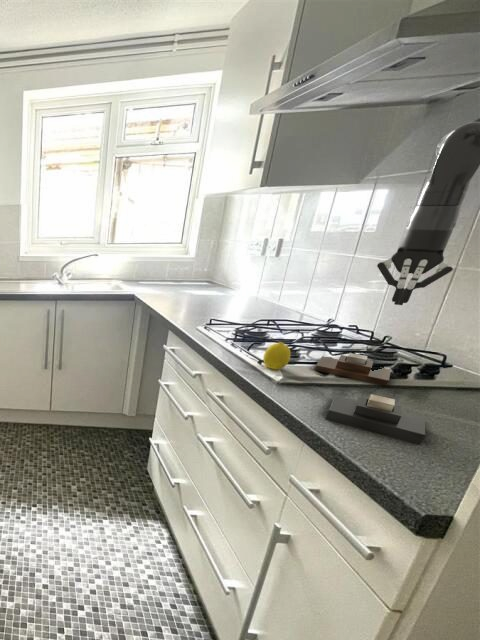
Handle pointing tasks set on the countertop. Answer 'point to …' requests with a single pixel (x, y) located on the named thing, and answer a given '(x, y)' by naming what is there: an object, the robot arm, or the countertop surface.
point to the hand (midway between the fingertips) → (398, 304)
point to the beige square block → (356, 358)
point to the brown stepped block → (353, 370)
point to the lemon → (277, 356)
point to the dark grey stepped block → (377, 419)
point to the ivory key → (381, 402)
